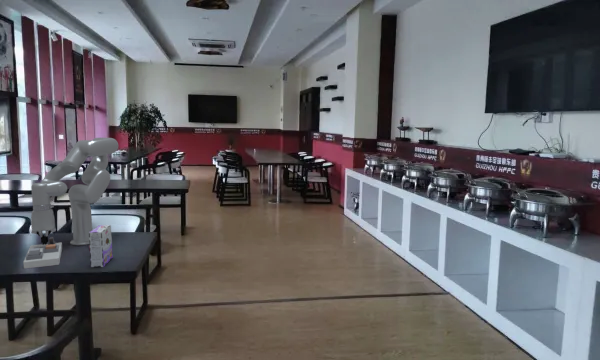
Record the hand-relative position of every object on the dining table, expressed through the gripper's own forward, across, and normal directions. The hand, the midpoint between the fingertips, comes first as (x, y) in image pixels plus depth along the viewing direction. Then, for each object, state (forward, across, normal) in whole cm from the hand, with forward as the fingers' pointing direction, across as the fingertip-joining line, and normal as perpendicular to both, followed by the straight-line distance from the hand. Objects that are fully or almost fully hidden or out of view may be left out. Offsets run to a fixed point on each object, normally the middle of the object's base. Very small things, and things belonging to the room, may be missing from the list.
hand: (44, 243), depth 228 cm
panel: (+4, 0, +9) cm, 10 cm away
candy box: (+5, -25, +29) cm, 39 cm away
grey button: (0, +3, +18) cm, 18 cm away
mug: (+5, -24, +14) cm, 28 cm away
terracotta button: (+1, -3, +9) cm, 10 cm away
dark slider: (+1, -3, 0) cm, 3 cm away
